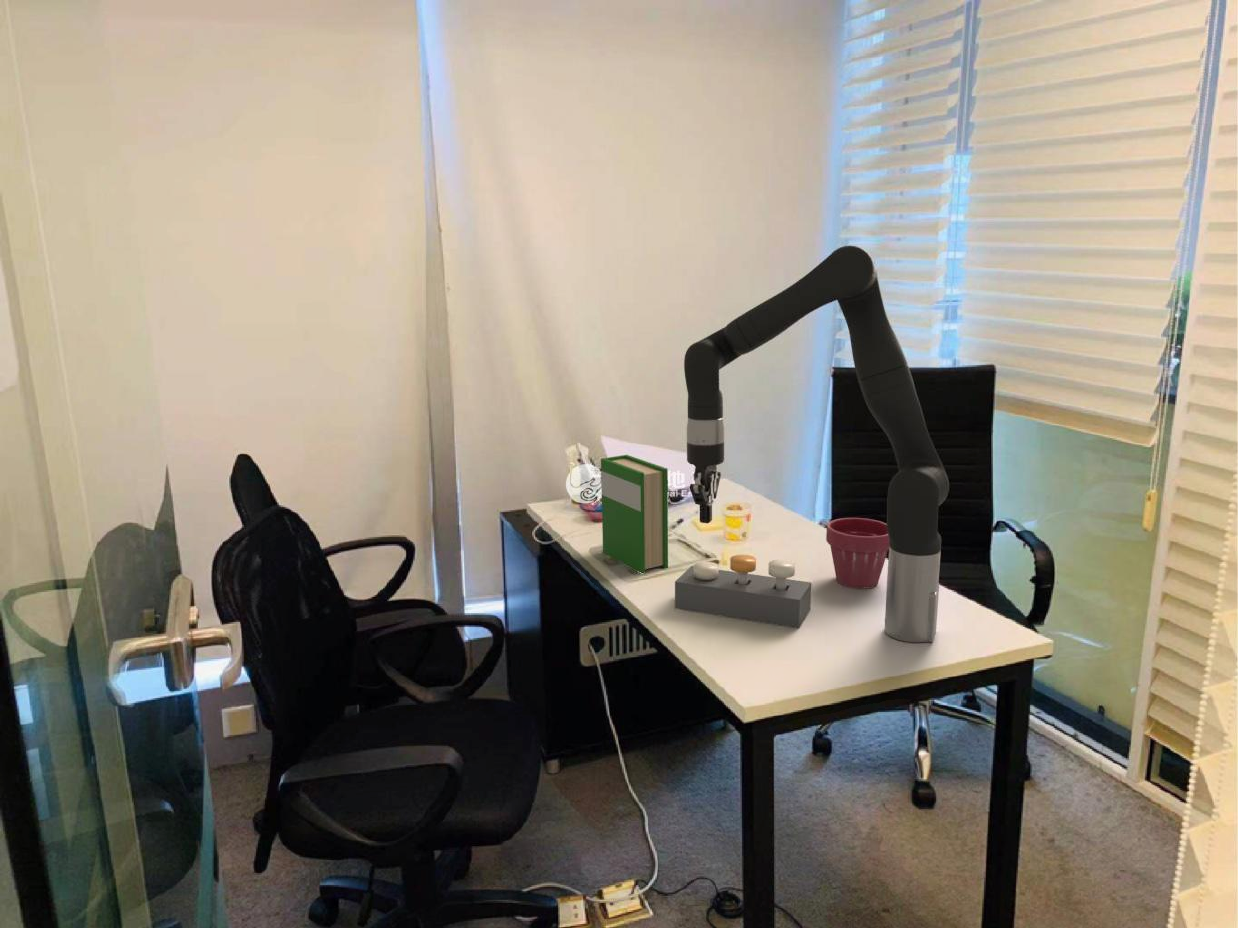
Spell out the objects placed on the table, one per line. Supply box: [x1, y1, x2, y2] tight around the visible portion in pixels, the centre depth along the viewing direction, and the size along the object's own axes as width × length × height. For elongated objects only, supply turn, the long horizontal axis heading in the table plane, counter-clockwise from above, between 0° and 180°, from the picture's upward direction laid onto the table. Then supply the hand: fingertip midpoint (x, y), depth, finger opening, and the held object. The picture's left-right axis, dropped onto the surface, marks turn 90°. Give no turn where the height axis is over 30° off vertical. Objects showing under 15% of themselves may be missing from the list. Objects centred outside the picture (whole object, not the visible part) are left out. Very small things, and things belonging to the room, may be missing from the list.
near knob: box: [768, 559, 796, 591], centre depth 177 cm, size 5×5×7 cm
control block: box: [674, 565, 812, 629], centre depth 181 cm, size 26×10×6 cm, turn 65°
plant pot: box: [825, 517, 889, 589], centre depth 194 cm, size 14×14×13 cm
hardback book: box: [600, 454, 669, 574], centre depth 209 cm, size 18×7×24 cm, turn 31°
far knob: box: [692, 561, 719, 580], centre depth 184 cm, size 5×5×7 cm
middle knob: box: [729, 554, 757, 585], centre depth 180 cm, size 5×5×7 cm
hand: (705, 521), depth 181 cm, fingers closed
